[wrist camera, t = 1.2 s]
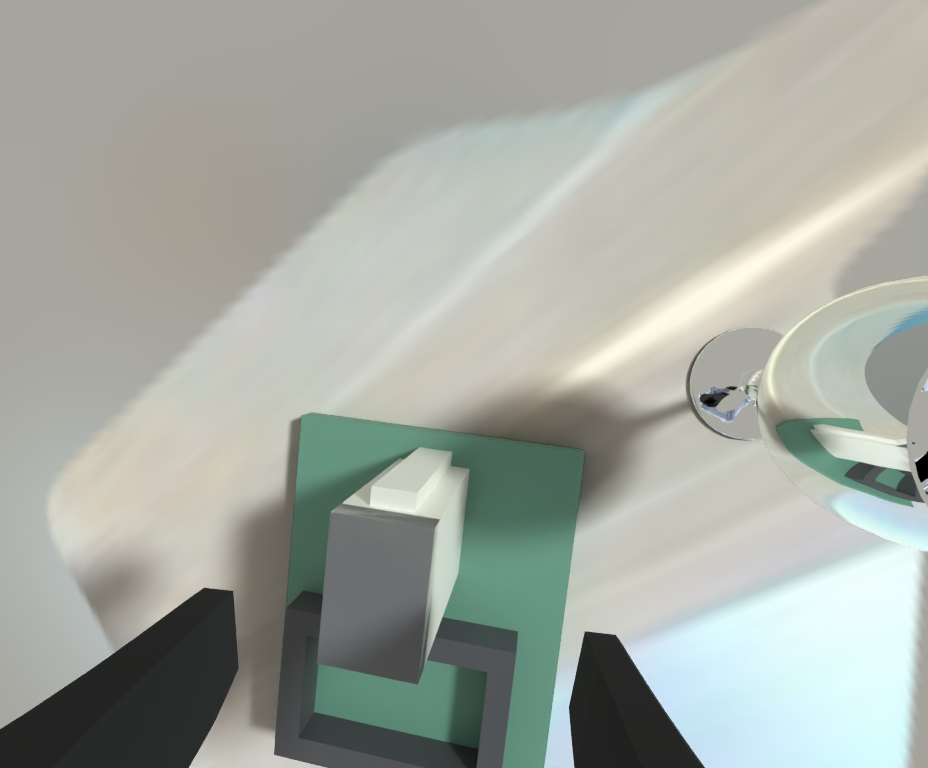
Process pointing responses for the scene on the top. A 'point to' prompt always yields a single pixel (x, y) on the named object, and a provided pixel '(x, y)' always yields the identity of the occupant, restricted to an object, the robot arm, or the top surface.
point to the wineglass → (835, 404)
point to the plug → (393, 567)
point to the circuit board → (464, 620)
